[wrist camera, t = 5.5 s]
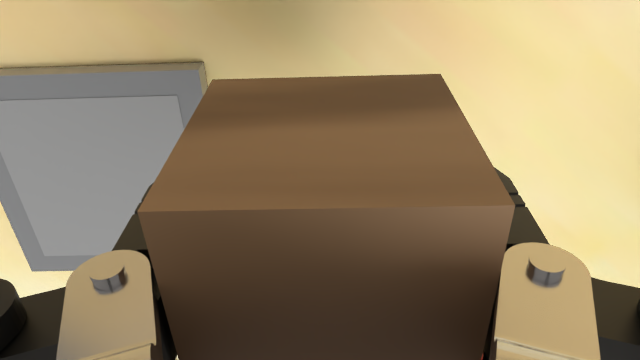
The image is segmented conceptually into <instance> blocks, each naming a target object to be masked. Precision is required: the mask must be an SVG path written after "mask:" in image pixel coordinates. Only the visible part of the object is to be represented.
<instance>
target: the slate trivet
mask: <svg viewBox="0 0 640 360" xmlns="http://www.w3.org/2000/svg"><path fill="white" fill-rule="evenodd" d="M207 89H208V86H207V80H206V74H205V67H204V62H194V63H161V64H129V65H97V66H64V67H32V68H0V202H1V204H2V206H3V208H4V211H5V213H6V215H7V217H8V219H9V222H10V224H11V226H12V228H13V230H14V233H15V235H16V237H17V239H18V241H19V244H20V246H21V248H22V250H23V253H24V255H25V257H26V259H27V261H28V264H29V266H30V268H31V270H32V271H75V270H76V269H77V268H78V267H79V266H80V265H81V264H83V263H84V262H86V261H87V260H89V259H91V258H93V257H95V256H97V255H100V254H103V253H106V252H110V251H112V249H113V248H114V246H115V244H116V243H117V241H118V239H119V237H120V236H121V234H122V232H123V230H124V229H125V227H126V225H127V224H128V222H129V220H130V218H131V217H132V215H133V214H135V210H136V208H137V206H138V205H139V203H141V199H142V198H143V196H144V194H145V192H146V191H147V189H148V187H149V186H150V185H151V184H152V183H154V182H155V180H156V178H157V176H158V175H159V173H160V171H161V169H162V168H163V166H164V164H165V162H166V161H167V159H168V157H169V155H170V154H171V152H172V150H173V148H174V146H175V145H176V143H177V141H178V139H179V138H180V136H181V134H182V132H183V131H184V129H185V127H186V125H187V124H188V122H189V120H190V118H191V117H192V115H193V113H194V111H195V110H196V108H197V106H198V104H199V103H200V101H201V99H202V97H203V96H204V94H205V92H206V90H207Z"/></svg>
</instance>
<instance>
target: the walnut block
mask: <svg viewBox="0 0 640 360" xmlns="http://www.w3.org/2000/svg"><path fill="white" fill-rule="evenodd" d="M514 209H515V204H514V202H513V200H512V199H511V197H510V195H509V193H508V192H507V190H506V188H505V186H504V185H503V183H502V181H501V179H500V178H499V176H498V174H497V172H496V171H495V169H494V167H493V165H492V164H491V162H490V160H489V158H488V157H487V155H486V153H485V151H484V150H483V148H482V146H481V144H480V143H479V141H478V139H477V137H476V135H475V134H474V132H473V130H472V128H471V127H470V125H469V123H468V121H467V120H466V118H465V116H464V114H463V113H462V111H461V109H460V107H459V106H458V104H457V102H456V100H455V99H454V97H453V95H452V93H451V92H450V90H449V88H448V86H447V85H446V83H445V81H444V79H443V78H442V76H441V74H420V75H380V76H340V77H299V78H259V79H218V80H212V82H211V83H210V85H209V87H208V89H207V90H206V92H205V94H204V96H203V97H202V99H201V101H200V103H199V104H198V106H197V108H196V110H195V111H194V113H193V115H192V117H191V118H190V120H189V122H188V124H187V125H186V127H185V129H184V131H183V132H182V134H181V136H180V138H179V139H178V141H177V143H176V145H175V146H174V148H173V150H172V152H171V154H170V155H169V157H168V159H167V161H166V162H165V164H164V166H163V168H162V169H161V171H160V173H159V175H158V176H157V178H156V180H155V182H154V183H153V185H152V187H151V189H150V190H149V192H148V194H147V196H146V197H145V199H144V201H143V203H142V204H141V206H140V208H139V210H138V211H137V213H138V216H139V220H140V223H141V227H142V230H143V234H144V237H145V241H146V245H147V248H148V252H149V255H150V259H151V262H152V266H153V269H154V273H155V277H156V280H157V284H158V287H159V291H160V294H161V298H162V302H163V305H164V309H165V312H166V316H167V319H168V323H169V326H170V330H171V334H172V337H173V341H174V344H175V348H176V351H177V355H178V358H179V360H481V359H482V354H483V350H484V345H485V341H486V336H487V332H488V327H489V323H490V318H491V313H492V309H493V304H494V300H495V295H496V291H497V286H498V282H499V277H500V273H501V268H502V263H503V259H504V254H505V250H506V245H507V241H508V236H509V232H510V227H511V223H512V218H513V213H514Z"/></svg>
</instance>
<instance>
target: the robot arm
mask: <svg viewBox="0 0 640 360" xmlns="http://www.w3.org/2000/svg"><path fill="white" fill-rule="evenodd" d="M494 169H495V171H496V172H497V174H498V176H499V178H500V179H501V181H502V183H503V185H504V186H505V188H506V190H507V192H508V193H509V195H510V197H511V199H512V200H513V202H514V204H515V209H514V213H513V218H512V223H511V227H510V232H509V236H508V241H507V245H506V250H505V254H504V259H503V263H502V268H501V273H500V277H499V282H498V286H497V291H496V295H495V300H494V304H493V309H492V313H491V318H490V323H489V327H488V332H487V336H486V341H485V345H484V350H483V354H482V359H481V360H640V288H636V287H631V286H626V285H622V284H617V283H612V282H607V281H603V280H599V279H595V278H592V277H591V276H590V273H589V271H588V269H587V267H586V266H585V265H584V263H583V262H582V261H580V260H579V259H578V258H577V257H576V256H574V255H573V254H571V253H569V252H568V251H566V250H563V249H561V248H559V247H556V246H553V245H550V244H549V243H548V241H547V239H546V238H545V236H544V234H543V233H542V231H541V229H540V228H539V226H538V224H537V223H536V221H535V219H534V218H533V216H532V214H531V213H530V211H529V210H528V208H527V207H525V203H524V201H523V200H522V198H521V196H520V195H518V191H517V190H516V188H515V186H514V185H513V183H512V181H511V180H510V178H508V177H507V176H506V175H504V174H503V173H501V172H500V171H499V170H497V169H496V168H494ZM152 185H153V183H152V184H151V185H150V186H149V187H148V189H147V191H146V192H145V194H144V196H143V198H142V199H141V203H139V205H138V206H137V208H136V210H135V214H133V215H132V217H131V218H130V220H129V222H128V224H127V225H126V227H125V229H124V230H123V232H122V234H121V236H120V237H119V239H118V241H117V243H116V244H115V246H114V248H113V249H112V251H110V252H106V253H103V254H100V255H97V256H95V257H93V258H91V259H89V260H87V261H86V262H84V263H83V264H81V265H80V266H79V267H78V268H77V269H76V270H75V271H74V272H73V273H72V274H71V275H70V277H69V279H68V281H67V284H66V287H63V288H60V289H56V290H52V291H48V292H43V293H39V294H35V295H31V296H27V297H23V298H19V296H18V294H17V292H16V290H15V288H14V286H13V285H12V284H11V283H10V282H9V281H7V280H3V279H0V360H178V359H177V351H176V348H175V344H174V341H173V337H172V334H171V330H170V326H169V323H168V319H167V316H166V312H165V309H164V305H163V302H162V298H161V294H160V291H159V287H158V284H157V280H156V277H155V273H154V269H153V266H152V262H151V259H150V255H149V252H148V248H147V245H146V241H145V237H144V234H143V230H142V227H141V223H140V220H139V216H138V213H137V211H138V210H139V208H140V206H141V204H142V203H143V201H144V199H145V197H146V196H147V194H148V192H149V190H150V189H151V187H152Z"/></svg>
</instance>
